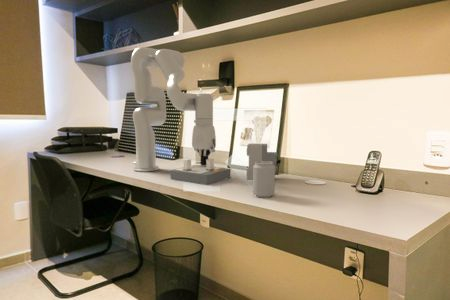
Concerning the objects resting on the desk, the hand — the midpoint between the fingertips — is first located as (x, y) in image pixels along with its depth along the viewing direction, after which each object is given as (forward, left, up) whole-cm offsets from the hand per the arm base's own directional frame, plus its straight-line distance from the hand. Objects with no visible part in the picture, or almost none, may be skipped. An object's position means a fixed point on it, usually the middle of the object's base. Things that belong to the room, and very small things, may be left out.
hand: (204, 164), depth 142 cm
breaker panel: (-2, 0, -6) cm, 7 cm away
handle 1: (-5, -6, -2) cm, 8 cm away
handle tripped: (+3, 0, -2) cm, 4 cm away
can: (+35, -11, -7) cm, 37 cm away
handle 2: (-5, +6, -2) cm, 8 cm away
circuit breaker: (+21, +15, -7) cm, 27 cm away
